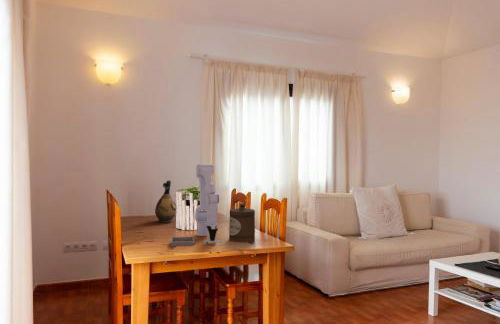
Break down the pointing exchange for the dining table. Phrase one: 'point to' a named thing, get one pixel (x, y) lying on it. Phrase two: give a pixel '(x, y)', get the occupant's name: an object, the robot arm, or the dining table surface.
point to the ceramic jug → (166, 205)
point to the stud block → (211, 243)
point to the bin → (181, 240)
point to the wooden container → (242, 224)
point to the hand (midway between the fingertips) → (211, 239)
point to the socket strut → (209, 239)
